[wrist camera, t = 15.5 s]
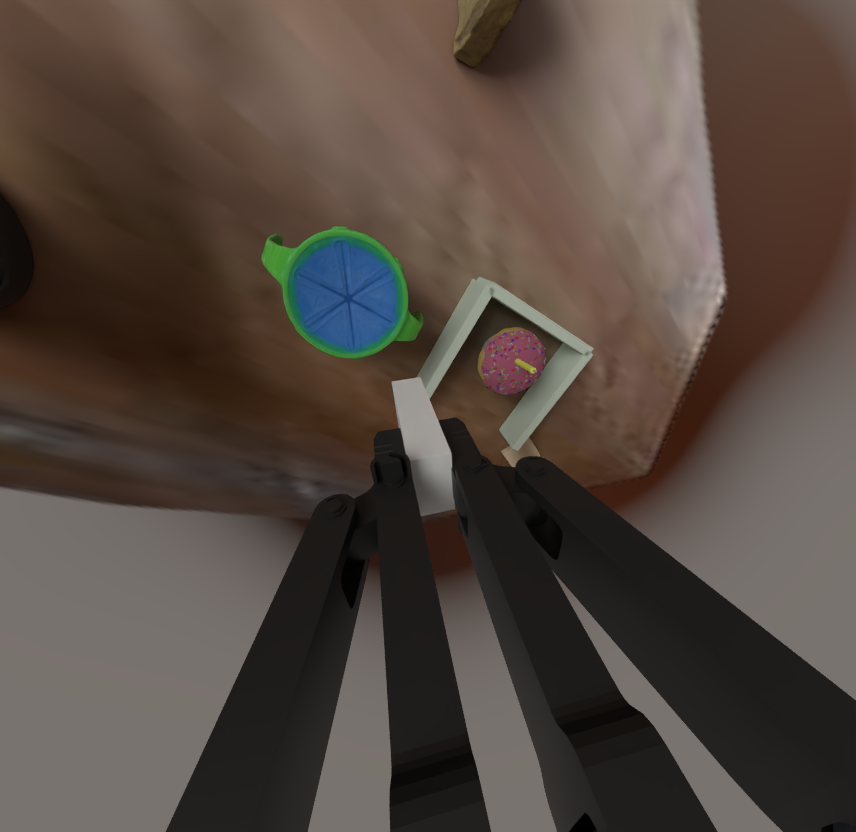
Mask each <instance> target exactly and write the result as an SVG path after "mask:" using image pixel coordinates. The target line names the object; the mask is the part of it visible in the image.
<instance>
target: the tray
mask: <svg viewBox="0 0 856 832" xmlns="http://www.w3.org/2000/svg"><path fill="white" fill-rule="evenodd" d="M491 297H492V298H493V299H495V300H496V301H498V302H500V303H501V304H503V305H504V306H506V307H507V308H509V309H510V310H512V311H514V312H515V313H517V314H518V315H520V316H521V317H523V318H525V319H526V320H528V321H529V322H531V323H532V324H534V325H535V326H537V327H539V328H540V329H542V330H543V331H545V332H546V333H548V334H550V335H551V336H553V337H554V338H556V339H557V340H559V341H561V342H562V344H561V346H560V347H559V349H558V350H557V351H556V353H555V354H554V355H553V357H552V358H551V359H550V361H549V362H548V363H547V365H546V366H545V368H544V370H543V372H542V373H541V375H540V376H539V378H538V379H537V381H536V382H535V383H534V384H532V385H531V387H530V388H529V389H528V391H527V392H526V393H525V395H524V396H523V398H522V399H521V400H520V402H519V403H518V404H517V406H516V407H515V408H514V410H513V411H512V413H511V414H510V415H509V417H508V418H507V419H506V421H505V422H504V423H503V425H502V426H501V428H500V429H499V431H500V432H501V433H502V435H503V436H504V438H505V439H506V441H507V442H508V444H509V445H510V446H511V448H512V449H515V450H517V451H518V450H519V449H520V448H521V446H522V445H523V444H524V443H525V441H526V440H527V439H528V437H529V436H530V435H531V434H532V432H533V431H534V430H535V429H536V427H537V426H538V425H539V423H540V422H541V421H542V420H543V418H544V417H545V416H546V415H547V413H548V412H549V411H550V409H551V408H552V407H553V406H554V404H555V403H556V402H557V401H558V399H559V398H560V397H561V395H562V394H563V393H564V392H565V390H566V389H567V388H568V387H569V385H570V384H571V383H572V381H573V380H574V379H575V378H576V376H577V375H578V374H579V373H580V371H581V370H582V369H583V367H584V366H585V365H586V364H587V362H588V361H589V360H590V359H591V357H592V356H593V354H592V353H591V351H592V350H593V349H594V348H592V347H591V346H589V345H588V344H586V343H585V342H583V341H582V340H580V339H579V338H577V337H576V336H574V335H573V334H571V333H570V332H568V331H567V330H565V329H564V328H562V327H561V326H559V325H558V324H556V323H555V322H553V321H552V320H550V319H549V318H547V317H546V316H544V315H543V314H541V313H539V312H538V311H536V310H535V309H533V308H532V307H530V306H529V305H527V304H526V303H524V302H523V301H521V300H520V299H518V298H517V297H515V296H514V295H512V294H511V293H509V292H508V291H506V290H505V289H503V288H502V287H500V286H499V285H497V284H496V283H494V282H492V281H489V280H487V279H484V278H482V277H479V278H478V279H477V280H474V279H472V280H471V282H470V284H469V286H468V287H467V289H466V291H465V293H464V294H463V296H462V298H461V300H460V301H459V303H458V305H457V307H456V308H455V310H454V312H453V314H452V315H451V317H450V319H449V321H448V322H447V324H446V326H445V328H444V329H443V331H442V333H441V335H440V337H439V338H438V340H437V342H436V344H435V345H434V347H433V349H432V351H431V352H430V354H429V356H428V358H427V359H426V361H425V363H424V365H423V366H422V368H421V370H420V372H419V373H418V375H417V377H416V378H418V377H420V378H421V380H422V382H423V385H424V387H425V390H426V392H427V395H428V397H429V399H430V398H431V396H432V394H433V393H434V391H435V389H436V388H437V386H438V385H439V383H440V381H441V380H442V378H443V376H444V375H445V373H446V371H447V370H448V368H449V366H450V365H451V363H452V361H453V360H454V358H455V356H456V355H457V353H458V351H459V350H460V348H461V346H462V345H463V343H464V342H465V340H466V338H467V337H468V335H469V333H470V332H471V330H472V328H473V327H474V325H475V323H476V322H477V320H478V318H479V317H480V315H481V313H482V312H483V310H484V308H485V307H486V305H487V304H488V302H489V300H490V299H491Z"/></svg>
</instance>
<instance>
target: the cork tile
mask: <svg viewBox="0 0 856 832" xmlns="http://www.w3.org/2000/svg"><path fill="white" fill-rule="evenodd" d="M501 452H502V454H503V455H504V456H505V458H506V459H507V461H508V462H509V463H510V465H511V466H512V467H515V465H516V463H517V461H518V460H520V459H521V458H523V457H528V456H538V457H539V456H541V455H540V454H539V452H538V450H537V449H536V447H535V446H534V444H533V442H532V441H531V439H530V438H529V437H528V439H527V440H526V441H525V443H524V444H523V445H522V446H521V448H520V449H519V450H518V451H517V450H515V449H512V448H511V446H508V447H507V448H505V449H503V450H502V451H501Z"/></svg>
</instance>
